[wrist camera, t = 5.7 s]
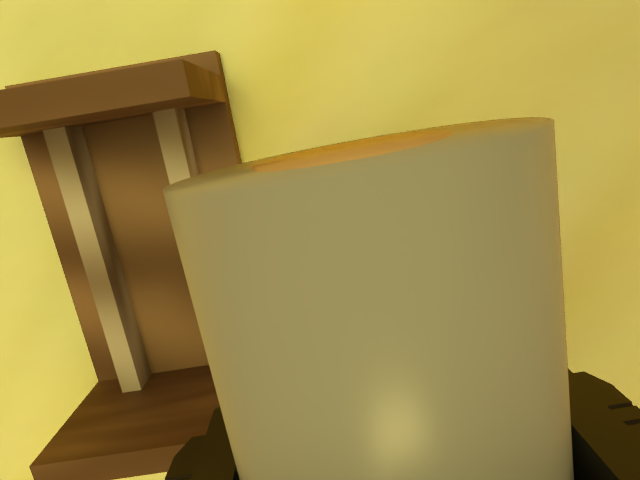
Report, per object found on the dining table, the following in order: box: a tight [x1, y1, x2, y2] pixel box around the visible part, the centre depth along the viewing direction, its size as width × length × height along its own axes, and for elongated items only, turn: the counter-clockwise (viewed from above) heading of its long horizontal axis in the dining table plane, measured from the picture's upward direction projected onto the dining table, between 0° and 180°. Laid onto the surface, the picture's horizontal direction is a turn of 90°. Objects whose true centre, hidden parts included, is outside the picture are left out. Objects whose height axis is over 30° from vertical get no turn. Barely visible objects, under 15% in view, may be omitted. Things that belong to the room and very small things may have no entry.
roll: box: [163, 117, 574, 480], centre depth 8 cm, size 11×5×5 cm, turn 10°
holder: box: [0, 51, 242, 480], centre depth 21 cm, size 18×10×8 cm, turn 9°
